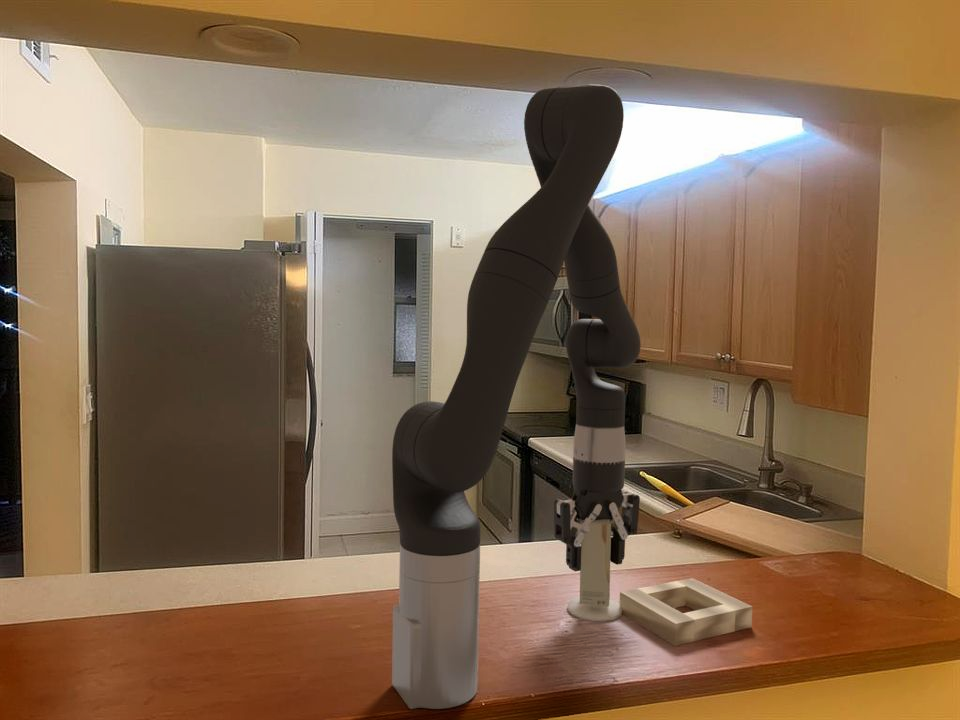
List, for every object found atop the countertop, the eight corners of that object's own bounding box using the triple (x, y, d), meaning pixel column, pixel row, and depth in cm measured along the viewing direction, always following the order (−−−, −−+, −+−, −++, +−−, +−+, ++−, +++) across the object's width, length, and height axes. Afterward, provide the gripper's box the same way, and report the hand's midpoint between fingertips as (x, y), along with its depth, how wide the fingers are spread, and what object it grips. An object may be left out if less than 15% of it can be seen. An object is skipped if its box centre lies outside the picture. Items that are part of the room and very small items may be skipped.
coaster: (588, 625, 101) (588, 621, 101) (557, 604, 108) (557, 600, 108) (633, 615, 104) (633, 611, 104) (600, 596, 111) (600, 592, 111)
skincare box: (609, 608, 102) (611, 524, 102) (578, 605, 103) (580, 522, 102) (609, 591, 109) (611, 512, 108) (581, 589, 109) (582, 510, 109)
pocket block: (675, 645, 95) (675, 623, 95) (619, 611, 106) (619, 591, 105) (751, 627, 101) (752, 606, 101) (691, 596, 112) (692, 578, 112)
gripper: (572, 464, 98) (568, 582, 99) (654, 456, 104) (650, 567, 105) (543, 454, 105) (540, 564, 106) (622, 447, 111) (619, 552, 112)
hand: (595, 565), depth 106 cm, fingers closed on skincare box, 7 cm apart
